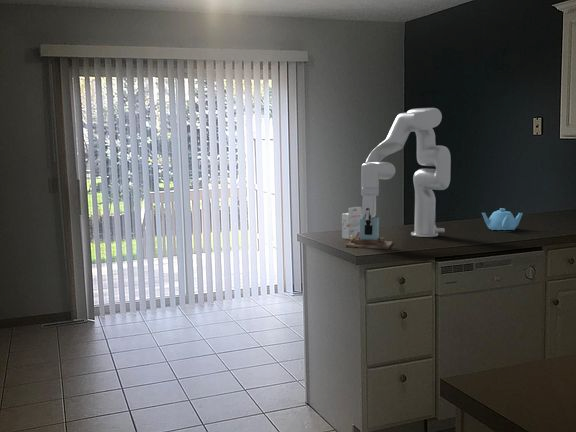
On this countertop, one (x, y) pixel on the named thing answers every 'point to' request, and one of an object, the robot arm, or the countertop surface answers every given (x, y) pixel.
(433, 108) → the robot arm
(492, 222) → the teapot
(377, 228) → the key block
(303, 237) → the countertop surface
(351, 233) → the ink cartridge box
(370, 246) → the cradle
